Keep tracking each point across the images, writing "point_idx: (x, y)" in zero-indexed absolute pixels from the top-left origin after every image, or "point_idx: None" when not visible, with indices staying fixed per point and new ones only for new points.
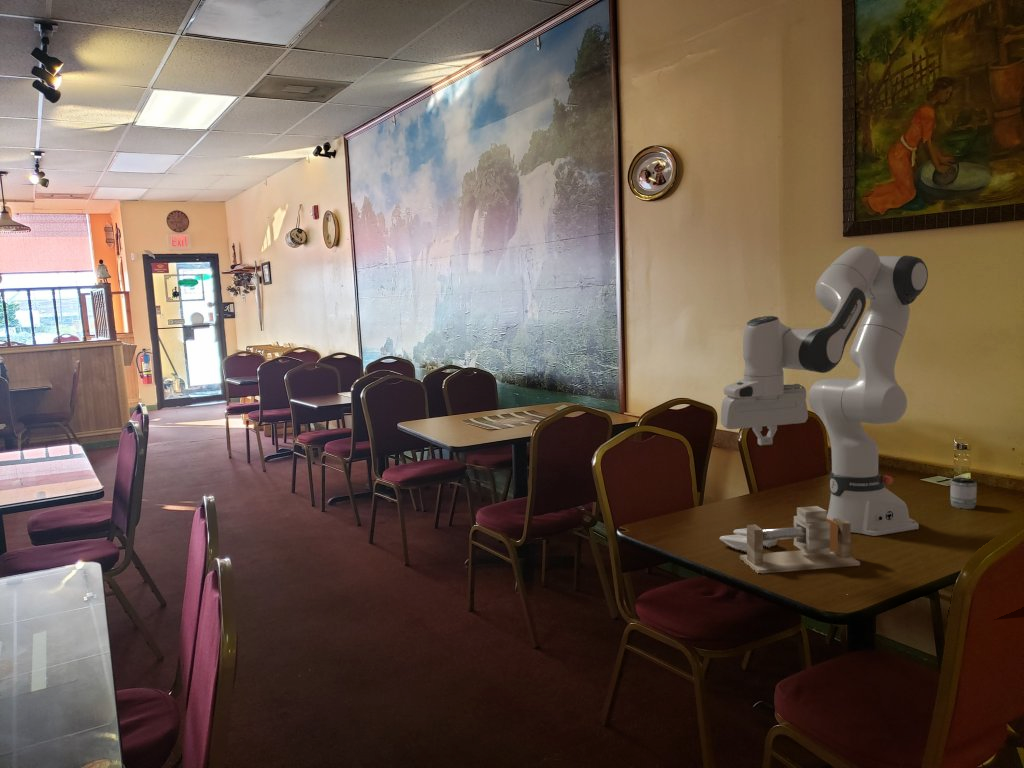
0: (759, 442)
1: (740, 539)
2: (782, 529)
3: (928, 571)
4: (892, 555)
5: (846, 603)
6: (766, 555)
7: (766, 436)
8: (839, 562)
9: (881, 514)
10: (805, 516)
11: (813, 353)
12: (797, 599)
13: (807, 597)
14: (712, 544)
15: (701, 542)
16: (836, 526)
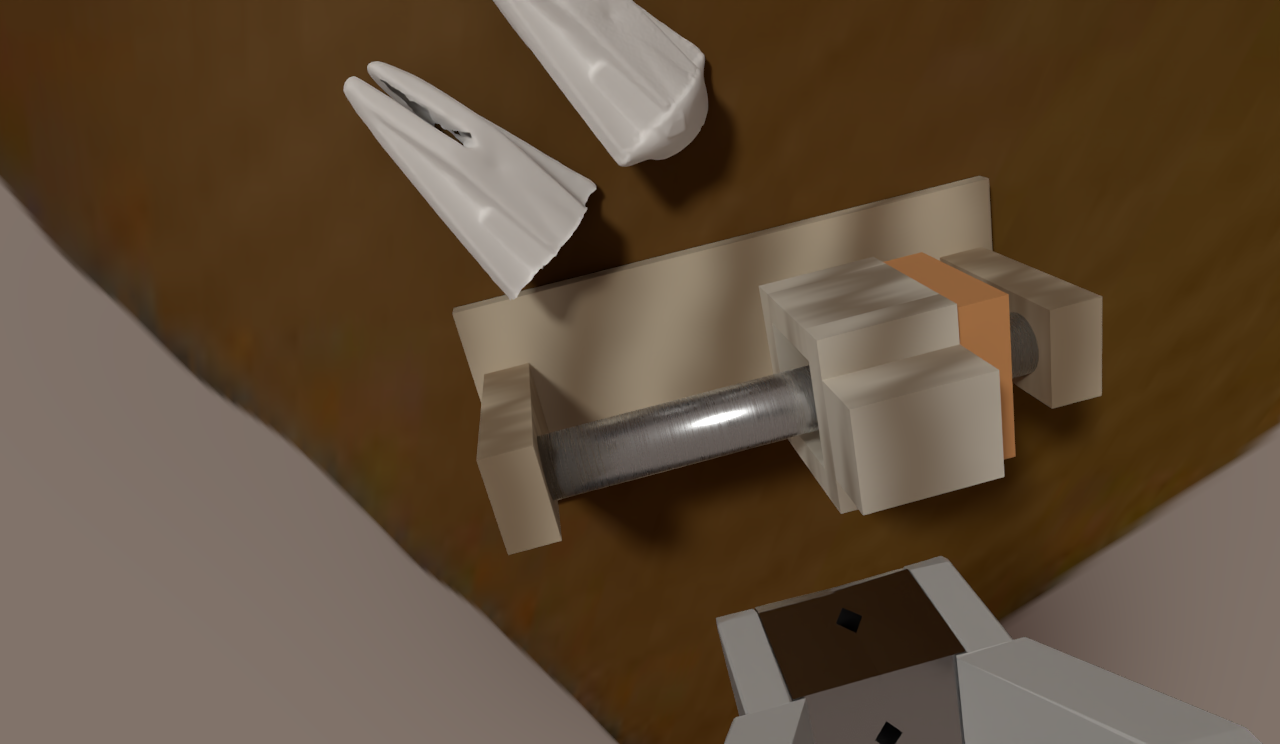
0: (736, 700)
1: (465, 234)
2: (692, 455)
3: (1208, 427)
4: (1195, 239)
5: None
6: (596, 313)
7: (937, 696)
8: None
9: None
10: (851, 497)
11: None
12: (615, 718)
13: (656, 699)
14: (306, 53)
15: (230, 7)
16: None
